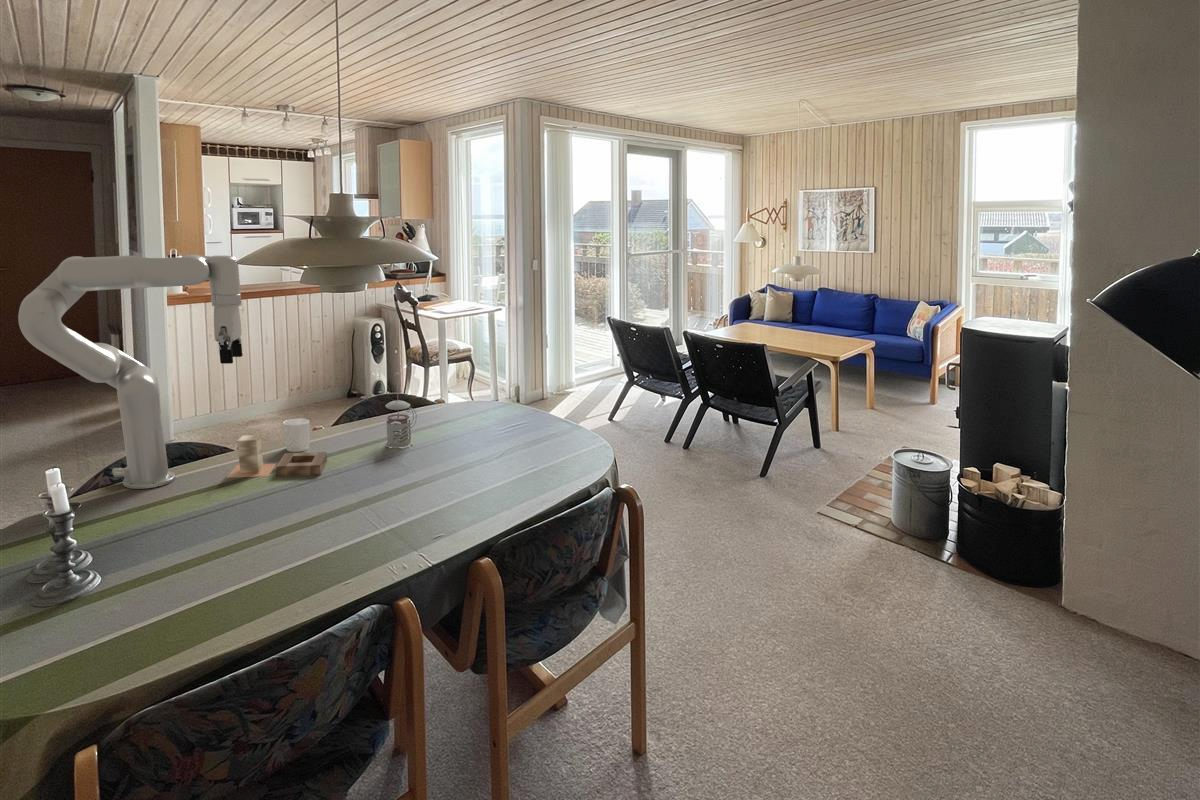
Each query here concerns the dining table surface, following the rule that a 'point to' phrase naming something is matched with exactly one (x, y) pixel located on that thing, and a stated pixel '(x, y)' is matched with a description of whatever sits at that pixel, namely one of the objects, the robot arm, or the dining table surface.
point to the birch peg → (250, 454)
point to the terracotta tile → (264, 472)
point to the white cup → (296, 434)
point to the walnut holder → (301, 464)
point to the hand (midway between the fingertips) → (231, 359)
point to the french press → (395, 438)
